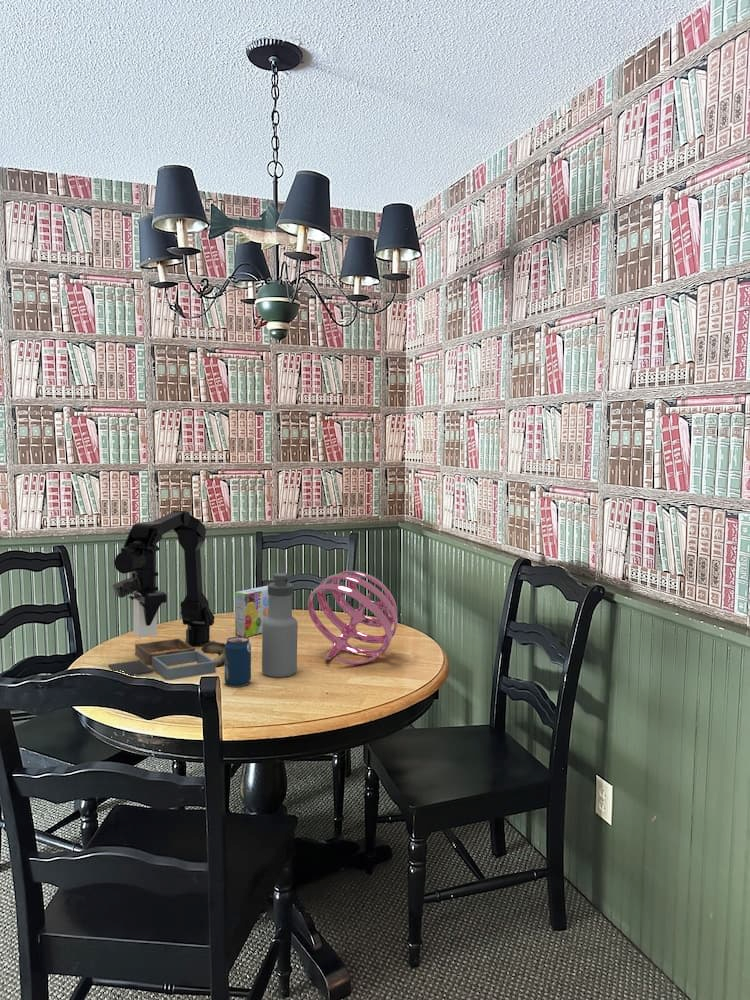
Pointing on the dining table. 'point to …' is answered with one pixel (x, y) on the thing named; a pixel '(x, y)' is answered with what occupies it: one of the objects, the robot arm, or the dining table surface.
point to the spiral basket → (355, 614)
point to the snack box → (251, 610)
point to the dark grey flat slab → (131, 667)
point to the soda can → (237, 661)
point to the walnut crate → (161, 648)
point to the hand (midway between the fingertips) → (145, 623)
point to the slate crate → (202, 667)
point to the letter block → (142, 621)
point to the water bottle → (279, 630)
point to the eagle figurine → (215, 651)
